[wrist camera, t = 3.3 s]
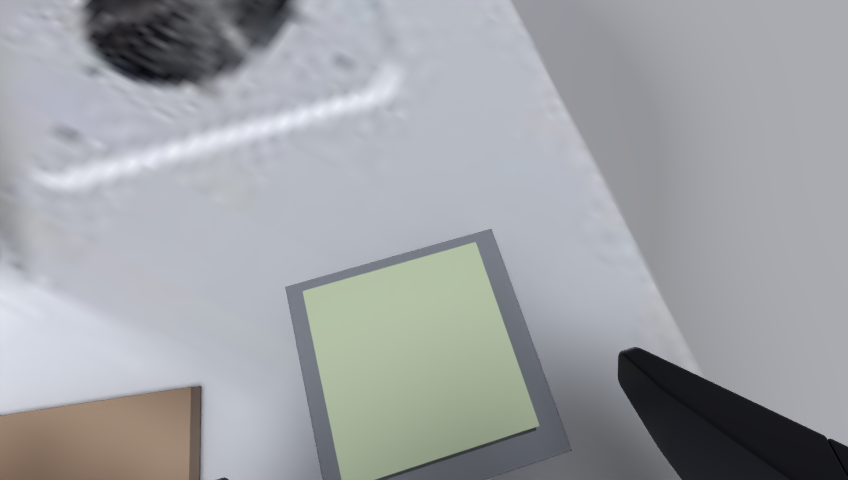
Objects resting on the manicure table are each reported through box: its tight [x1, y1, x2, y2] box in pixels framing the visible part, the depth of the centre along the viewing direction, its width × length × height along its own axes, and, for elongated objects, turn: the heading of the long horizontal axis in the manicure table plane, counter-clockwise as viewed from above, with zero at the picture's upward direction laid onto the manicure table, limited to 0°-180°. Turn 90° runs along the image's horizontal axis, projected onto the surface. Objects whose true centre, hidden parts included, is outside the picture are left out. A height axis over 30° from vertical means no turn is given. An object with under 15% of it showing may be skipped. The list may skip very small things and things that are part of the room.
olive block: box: [303, 242, 540, 480], centre depth 14 cm, size 4×4×10 cm
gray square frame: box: [285, 229, 572, 480], centre depth 17 cm, size 9×9×2 cm
